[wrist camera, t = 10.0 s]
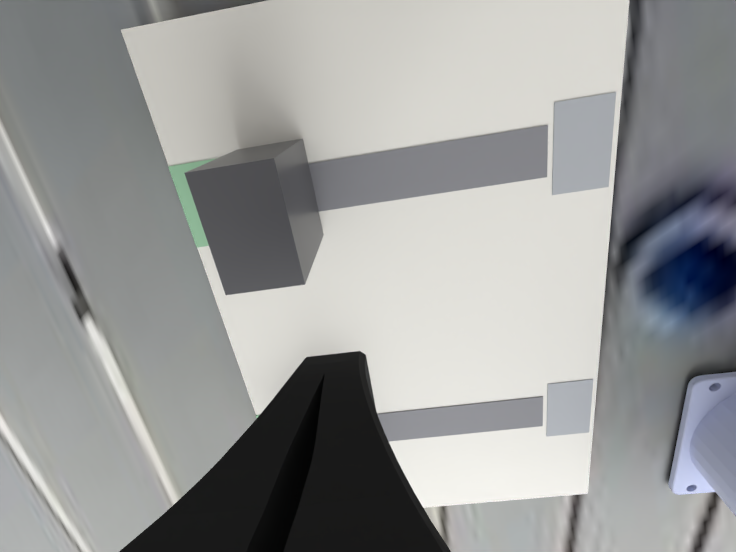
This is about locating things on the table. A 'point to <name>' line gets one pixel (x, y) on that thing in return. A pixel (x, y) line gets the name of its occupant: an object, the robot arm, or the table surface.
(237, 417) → the table surface
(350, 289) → the switch plate
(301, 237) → the handle
